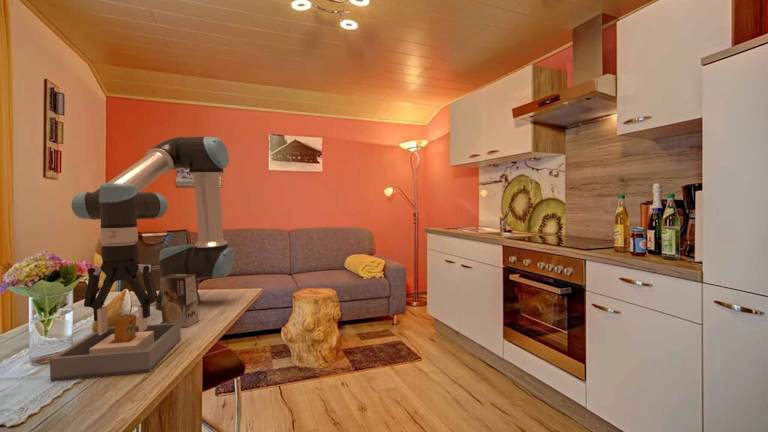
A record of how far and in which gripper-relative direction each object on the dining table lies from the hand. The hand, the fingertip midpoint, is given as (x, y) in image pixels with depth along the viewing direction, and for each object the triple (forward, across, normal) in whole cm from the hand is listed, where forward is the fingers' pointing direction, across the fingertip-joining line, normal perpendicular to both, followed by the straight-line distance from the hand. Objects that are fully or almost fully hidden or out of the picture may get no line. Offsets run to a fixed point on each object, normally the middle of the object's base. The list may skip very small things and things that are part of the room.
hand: (123, 331), depth 90 cm
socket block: (+7, 0, 0) cm, 7 cm away
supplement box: (+6, 0, 0) cm, 6 cm away
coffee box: (+7, +5, +25) cm, 26 cm away
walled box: (+7, 0, 0) cm, 7 cm away
